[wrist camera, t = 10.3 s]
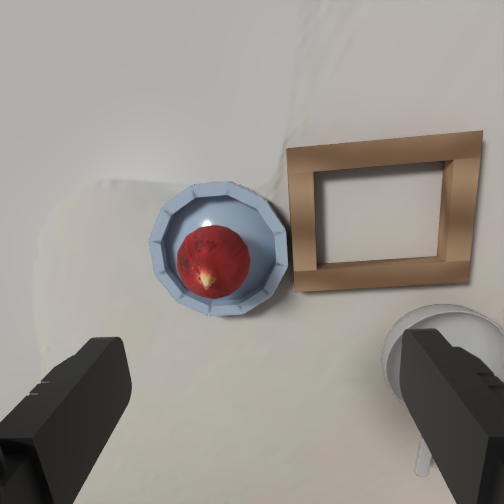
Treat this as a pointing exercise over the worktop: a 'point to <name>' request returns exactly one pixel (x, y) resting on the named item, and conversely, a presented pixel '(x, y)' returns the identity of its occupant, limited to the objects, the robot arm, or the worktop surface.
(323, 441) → the worktop surface
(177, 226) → the dish
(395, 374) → the saucepan
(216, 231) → the onion
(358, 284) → the frame
